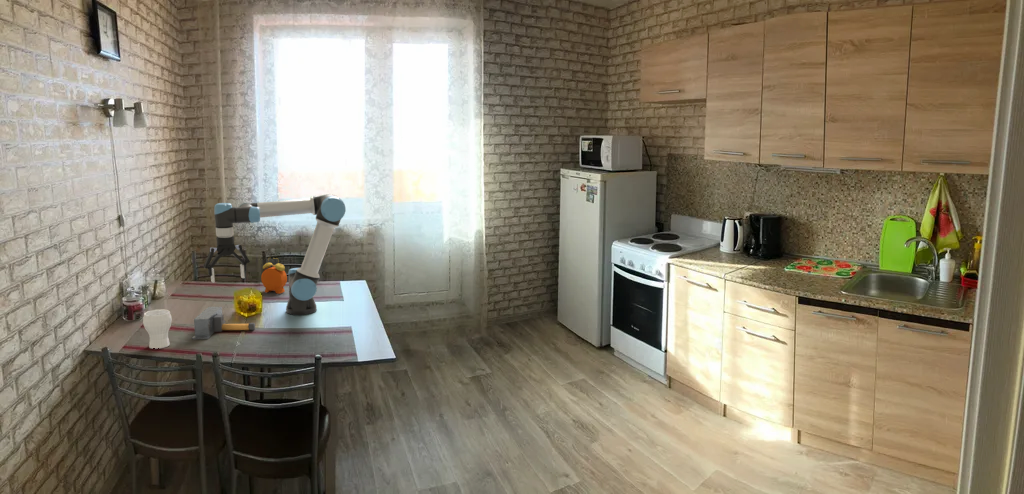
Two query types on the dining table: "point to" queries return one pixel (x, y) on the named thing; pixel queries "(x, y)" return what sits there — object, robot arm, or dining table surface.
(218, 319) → the hammer
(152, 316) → the cup
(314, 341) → the dining table surface
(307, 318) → the dining table surface
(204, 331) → the housing
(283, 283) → the alarm clock
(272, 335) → the dining table surface
